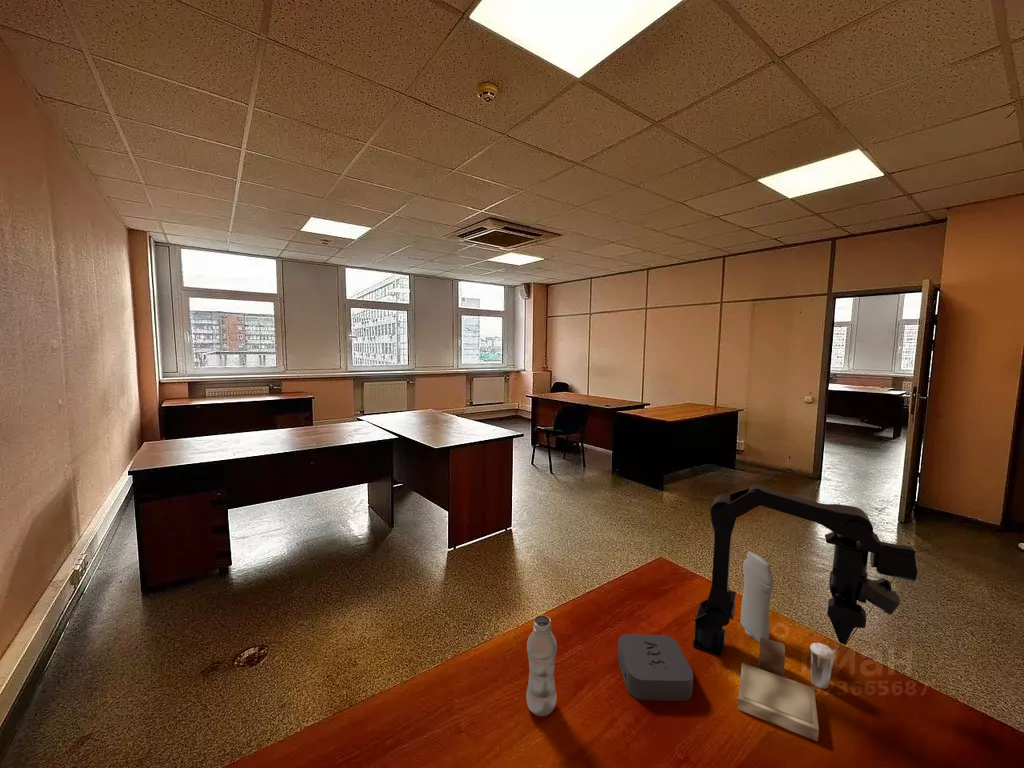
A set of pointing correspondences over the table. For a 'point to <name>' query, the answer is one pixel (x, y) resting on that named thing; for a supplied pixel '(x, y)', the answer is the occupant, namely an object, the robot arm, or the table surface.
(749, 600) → the grey ridged slab
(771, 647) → the walnut block
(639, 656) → the streaming box
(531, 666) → the plastic bottle
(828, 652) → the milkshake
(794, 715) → the base
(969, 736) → the table surface
